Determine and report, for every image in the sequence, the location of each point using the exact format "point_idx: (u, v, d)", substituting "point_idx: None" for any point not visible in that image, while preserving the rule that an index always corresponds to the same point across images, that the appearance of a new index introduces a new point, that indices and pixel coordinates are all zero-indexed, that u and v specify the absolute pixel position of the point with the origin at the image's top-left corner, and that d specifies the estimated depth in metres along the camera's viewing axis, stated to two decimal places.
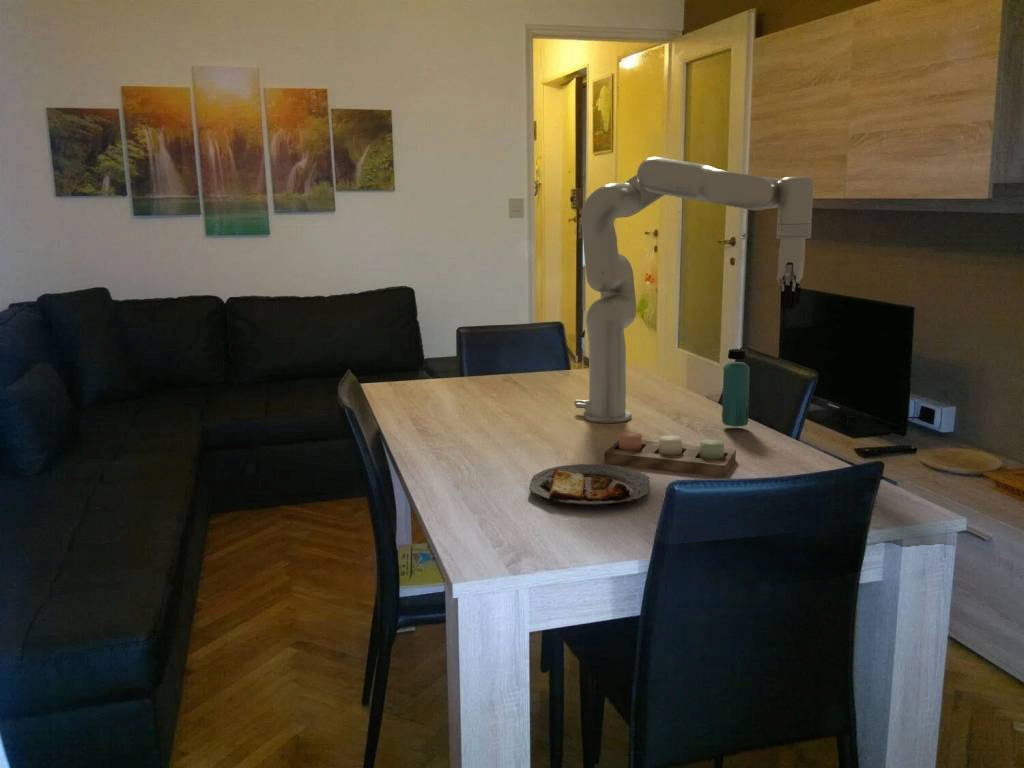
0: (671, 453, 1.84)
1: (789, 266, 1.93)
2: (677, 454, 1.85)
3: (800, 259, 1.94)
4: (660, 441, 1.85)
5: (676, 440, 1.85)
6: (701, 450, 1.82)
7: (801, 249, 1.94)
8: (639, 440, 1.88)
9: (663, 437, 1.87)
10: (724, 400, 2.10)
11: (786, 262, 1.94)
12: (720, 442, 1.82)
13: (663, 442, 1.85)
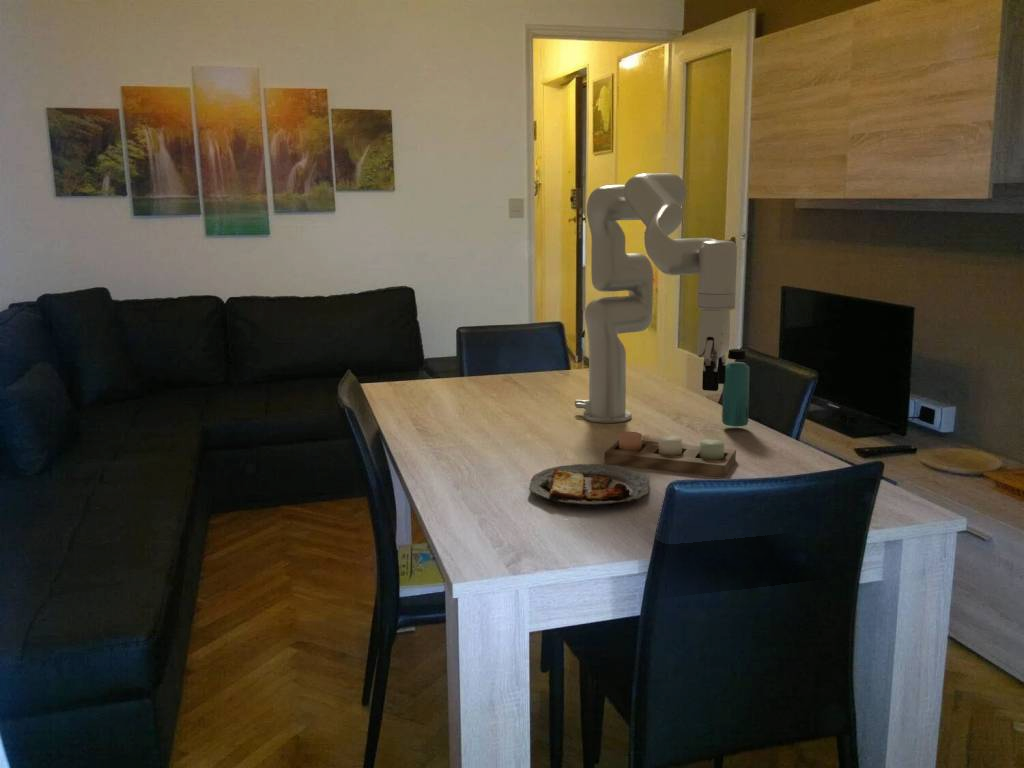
0: (671, 453, 1.84)
1: (709, 345, 1.73)
2: (677, 454, 1.85)
3: (722, 333, 1.73)
4: (660, 441, 1.85)
5: (676, 440, 1.85)
6: (701, 450, 1.82)
7: (723, 322, 1.73)
8: (639, 440, 1.88)
9: (663, 437, 1.87)
10: (724, 400, 2.10)
11: (706, 336, 1.73)
12: (720, 442, 1.82)
13: (663, 442, 1.85)
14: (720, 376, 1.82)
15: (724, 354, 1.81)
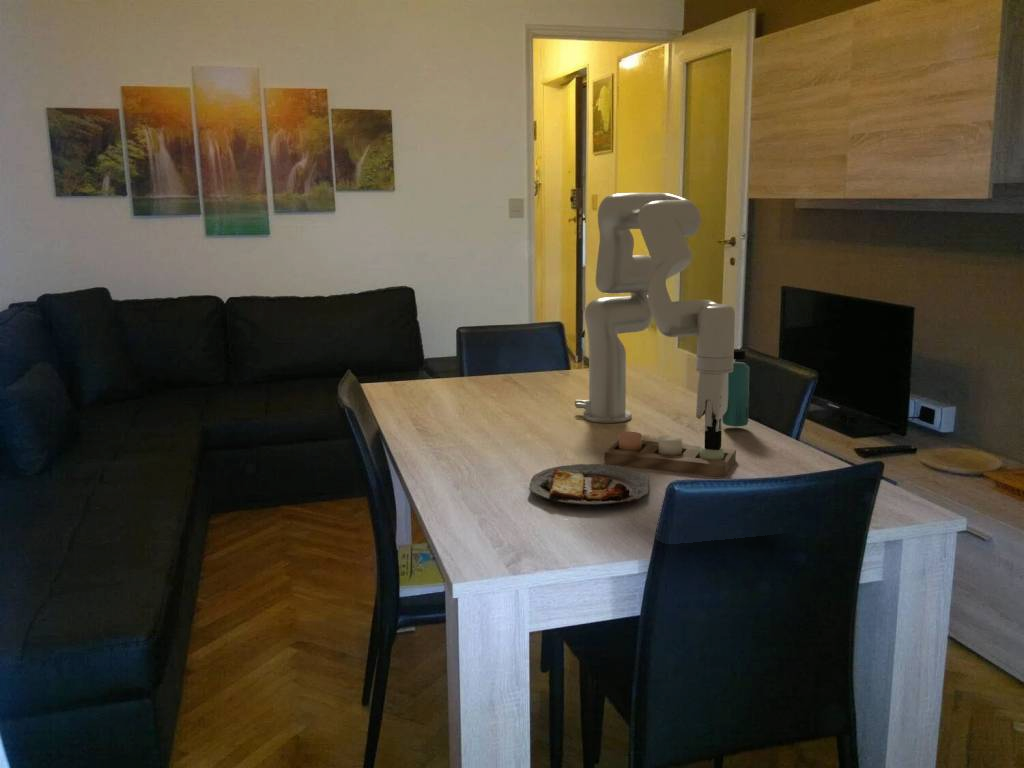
0: (671, 453, 1.84)
1: (708, 411, 1.76)
2: (677, 454, 1.85)
3: (720, 396, 1.76)
4: (660, 441, 1.85)
5: (676, 440, 1.85)
6: (701, 456, 1.82)
7: (721, 385, 1.76)
8: (639, 440, 1.88)
9: (663, 437, 1.87)
10: None
11: (705, 399, 1.76)
12: (720, 448, 1.83)
13: (663, 442, 1.85)
14: None
15: (721, 417, 1.82)
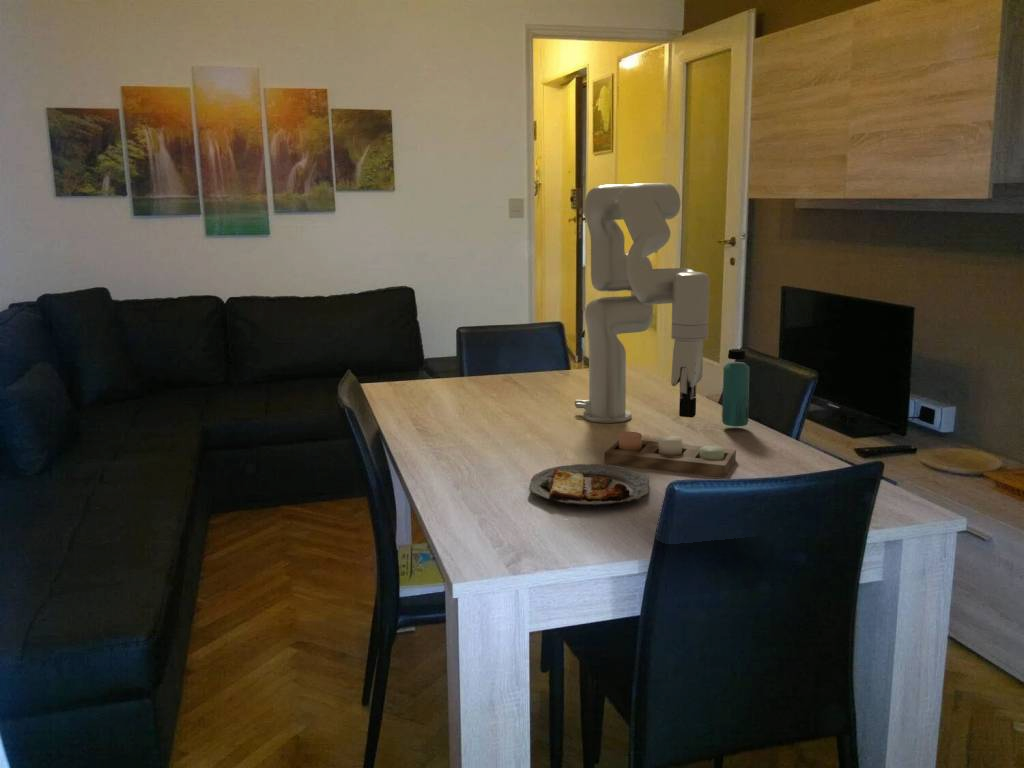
0: (671, 453, 1.84)
1: (683, 378, 1.77)
2: (677, 454, 1.85)
3: (695, 363, 1.77)
4: (660, 441, 1.85)
5: (676, 440, 1.85)
6: (701, 457, 1.82)
7: (696, 352, 1.77)
8: (639, 440, 1.88)
9: (663, 437, 1.87)
10: (724, 400, 2.10)
11: (680, 366, 1.77)
12: (720, 449, 1.83)
13: (663, 442, 1.85)
14: None
15: (695, 385, 1.83)
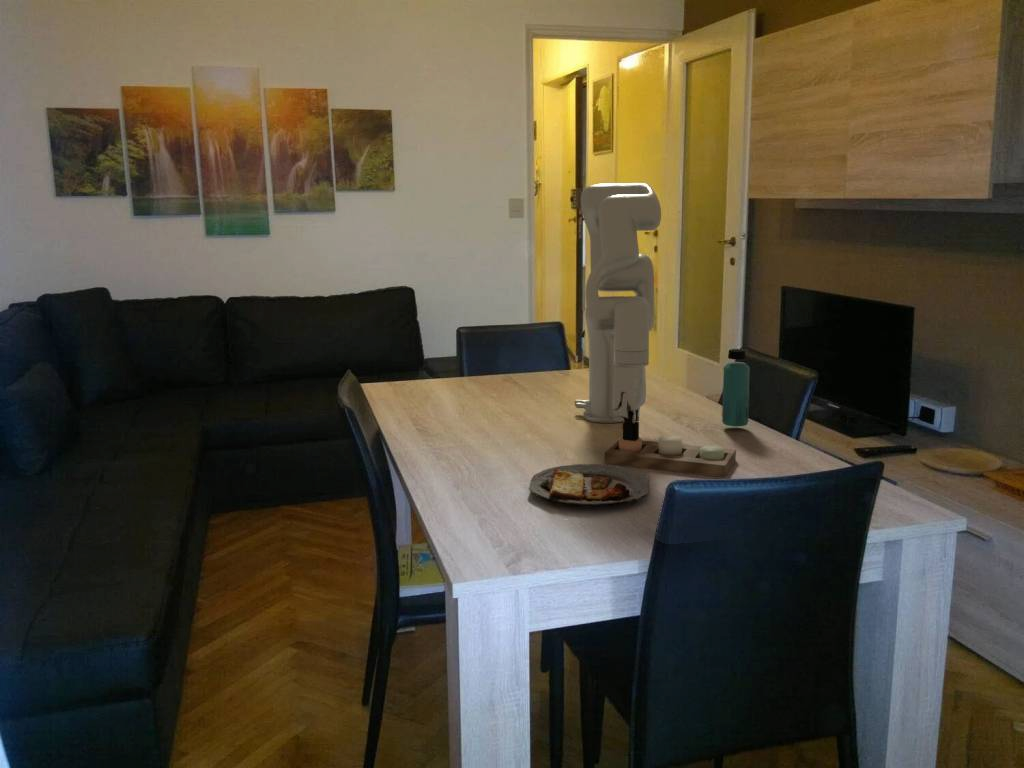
0: (671, 453, 1.84)
1: (624, 403, 1.84)
2: (677, 454, 1.85)
3: (635, 388, 1.83)
4: (660, 441, 1.85)
5: (676, 440, 1.85)
6: (701, 457, 1.82)
7: (636, 378, 1.83)
8: (639, 444, 1.89)
9: (663, 437, 1.87)
10: (724, 400, 2.10)
11: (620, 391, 1.83)
12: (720, 449, 1.83)
13: (663, 442, 1.85)
14: None
15: (638, 409, 1.89)
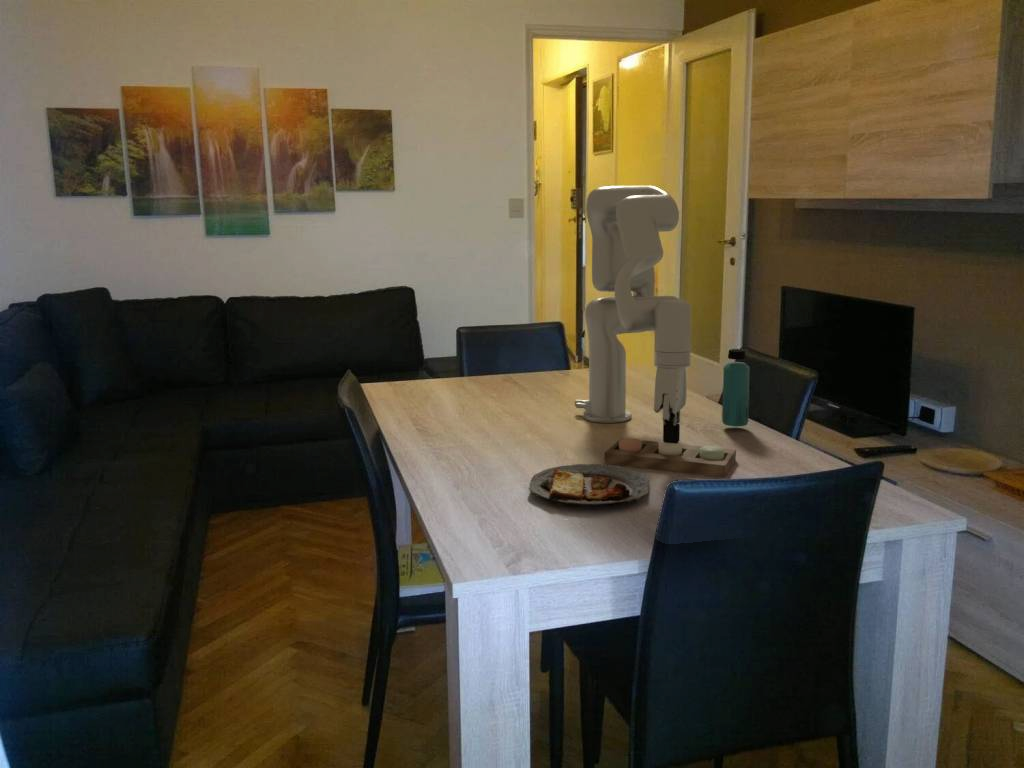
0: None
1: (666, 405, 1.80)
2: None
3: (677, 390, 1.79)
4: (660, 444, 1.85)
5: (676, 443, 1.85)
6: (701, 457, 1.82)
7: (678, 379, 1.79)
8: (639, 446, 1.89)
9: None
10: (724, 400, 2.10)
11: (662, 393, 1.79)
12: (720, 449, 1.83)
13: (663, 445, 1.85)
14: None
15: (679, 411, 1.85)
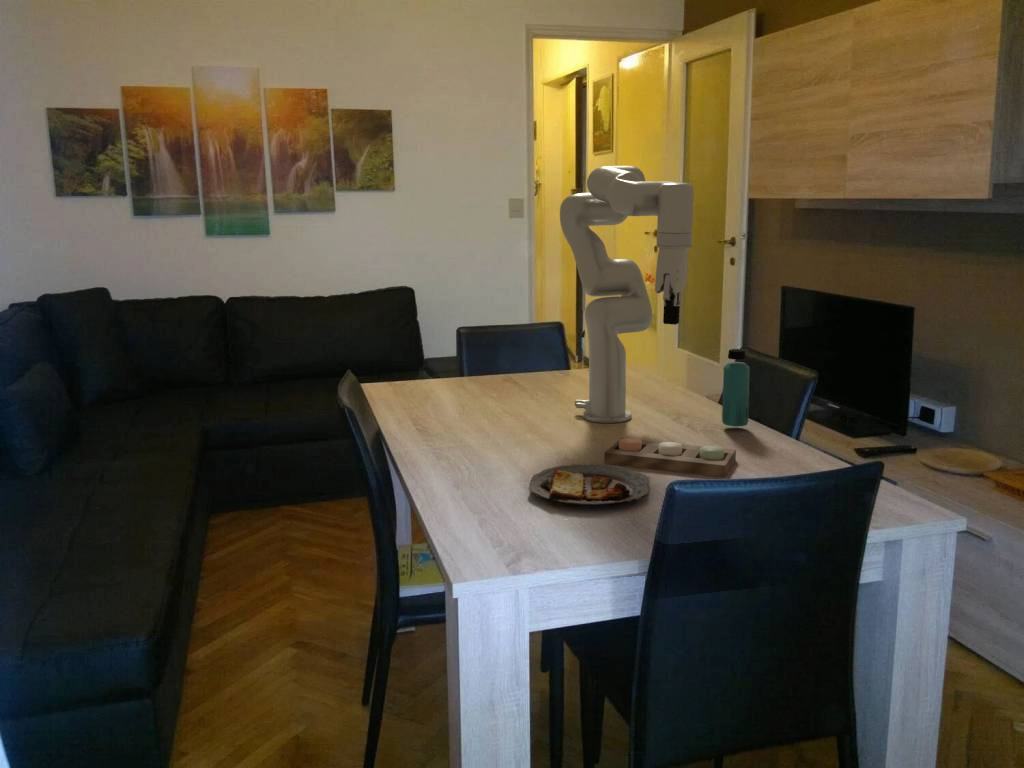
0: None
1: (666, 285, 1.86)
2: None
3: (678, 270, 1.85)
4: (660, 447, 1.86)
5: (676, 447, 1.85)
6: (701, 457, 1.82)
7: (679, 260, 1.84)
8: (639, 446, 1.89)
9: (663, 443, 1.87)
10: (724, 400, 2.10)
11: (663, 273, 1.85)
12: (720, 449, 1.83)
13: (663, 449, 1.85)
14: None
15: (679, 293, 1.91)
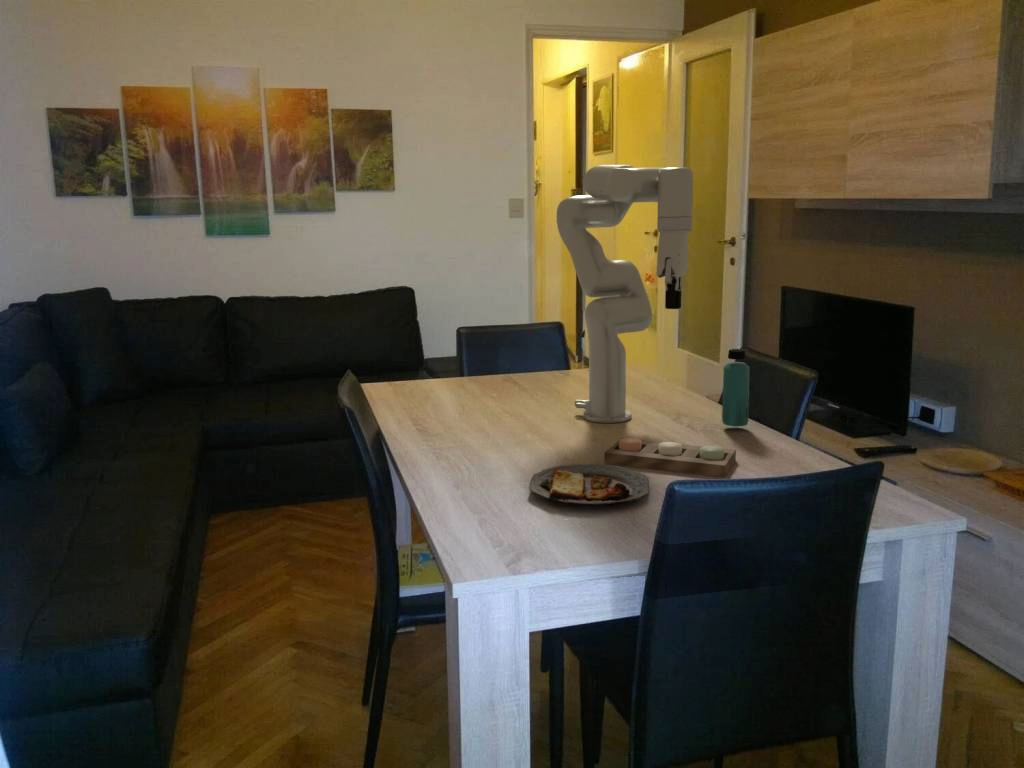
0: None
1: (668, 269, 1.86)
2: None
3: (679, 254, 1.85)
4: (660, 447, 1.86)
5: (676, 447, 1.85)
6: (701, 457, 1.82)
7: (680, 243, 1.85)
8: (639, 446, 1.89)
9: (663, 443, 1.87)
10: (724, 400, 2.10)
11: (664, 257, 1.86)
12: (720, 449, 1.83)
13: (663, 449, 1.85)
14: None
15: (681, 278, 1.92)
